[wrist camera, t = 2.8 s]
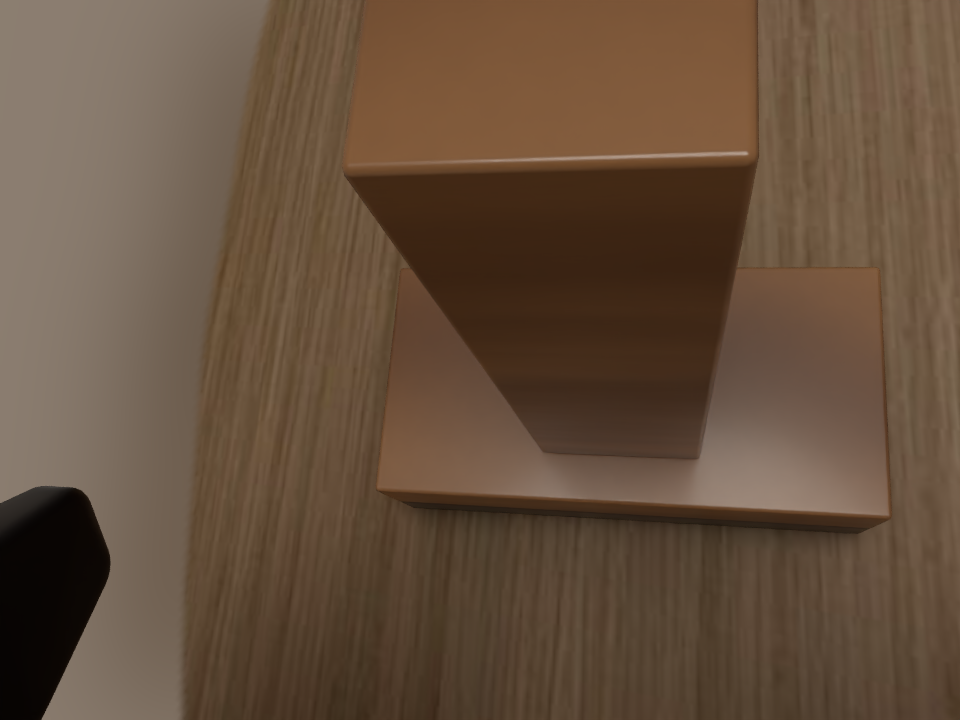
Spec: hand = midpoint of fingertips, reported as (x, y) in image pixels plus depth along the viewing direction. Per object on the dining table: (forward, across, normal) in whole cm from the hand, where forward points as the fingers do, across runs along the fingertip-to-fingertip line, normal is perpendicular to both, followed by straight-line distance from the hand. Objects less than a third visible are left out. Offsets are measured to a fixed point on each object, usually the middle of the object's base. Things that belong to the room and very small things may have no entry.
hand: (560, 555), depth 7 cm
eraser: (+10, 0, +5) cm, 11 cm away
